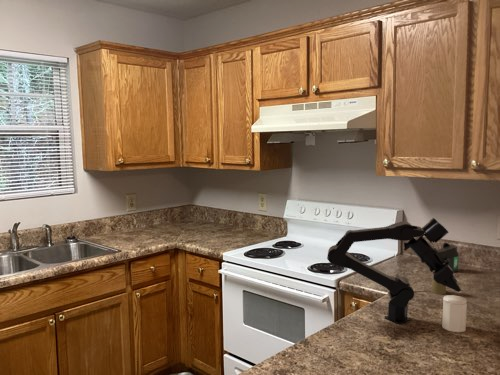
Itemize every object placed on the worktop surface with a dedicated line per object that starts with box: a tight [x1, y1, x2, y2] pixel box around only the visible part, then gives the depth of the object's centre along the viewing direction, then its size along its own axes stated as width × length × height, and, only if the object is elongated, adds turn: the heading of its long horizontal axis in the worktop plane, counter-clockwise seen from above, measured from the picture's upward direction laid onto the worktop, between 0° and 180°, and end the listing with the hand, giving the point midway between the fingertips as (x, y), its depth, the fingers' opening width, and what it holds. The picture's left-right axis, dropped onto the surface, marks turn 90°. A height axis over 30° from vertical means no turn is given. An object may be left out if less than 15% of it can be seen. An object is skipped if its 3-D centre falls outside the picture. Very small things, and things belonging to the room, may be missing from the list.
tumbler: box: [441, 294, 467, 333], centre depth 149 cm, size 7×7×10 cm
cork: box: [430, 271, 447, 295], centre depth 185 cm, size 6×6×11 cm
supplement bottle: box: [445, 245, 460, 273], centre depth 216 cm, size 7×7×12 cm
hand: (457, 286), depth 150 cm, fingers open, 9 cm apart
